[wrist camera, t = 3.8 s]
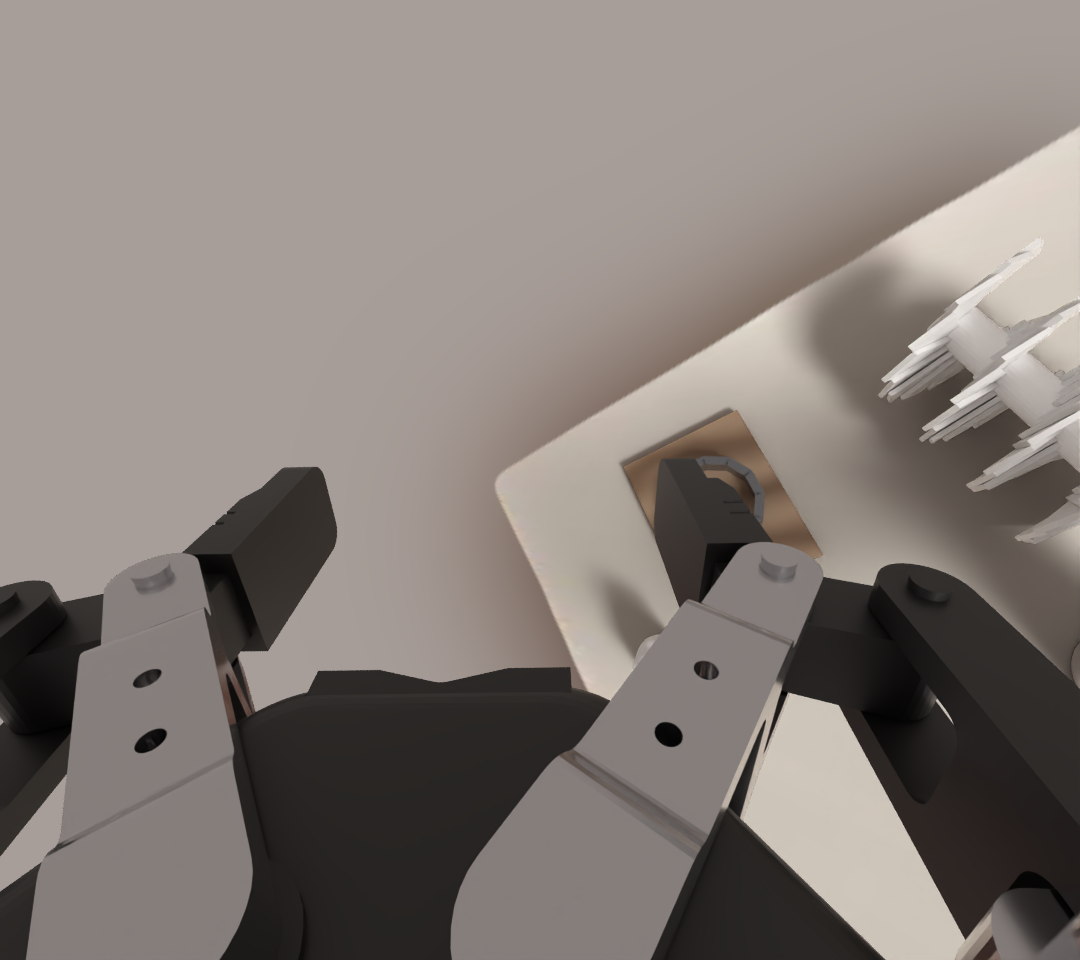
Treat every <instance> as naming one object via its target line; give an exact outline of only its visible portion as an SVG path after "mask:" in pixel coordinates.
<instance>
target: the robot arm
mask: <svg viewBox="0 0 1080 960" xmlns="http://www.w3.org/2000/svg"><path fill="white" fill-rule="evenodd" d="M654 531H655V538H656V542H657V545H658V548H659V551H660V554H661V557H662V559H663V562H664V565H665V568H666V571H667V574H668V576H669V579H670V582H671V585H672V588H673V591H674V593H675V596H676V599H677V602H678V605H679V610H678V611H677V612H676V614H675V615H674V617H673V618H672V619H671V621H670V622H669V623H668V625H667V626H666V627H665V629H664V630H663V631H662V633H661V634H660V635H659V637H658V638H657V639H656V641H655V642H654V643H653V645H652V646H651V647H650V649H649V650H648V651H647V653H646V654H645V655H644V657H643V658H642V659H641V661H640V662H639V663H638V665H637V666H636V667H635V669H634V670H633V671H632V673H631V674H630V675H629V677H628V678H627V679H626V681H625V682H624V683H623V685H622V686H621V688H620V689H619V690H618V692H617V693H616V694H615V696H614V697H613V698H612V700H611V701H610V700H608V699H605V698H603V697H601V696H599V695H596V694H593V693H590V692H587V691H584V690H580V689H576V688H572V687H571V672H570V667H567V668H565V667H562V668H561V667H560V668H507V669H503V670H498V671H493V672H489V673H484V674H480V675H476V676H471V677H467V678H463V679H458V680H453V681H449V682H440V683H439V682H432V681H427V680H423V679H418V678H414V677H409V676H405V675H400V674H395V673H391V672H386V671H381V670H360V671H359V670H356V671H318V673H317V675H316V677H315V679H314V681H313V683H312V685H311V687H310V689H309V691H308V692H307V693H303V694H299V695H296V696H292V697H290V698H286V699H284V700H281V701H279V702H276V703H274V704H271V705H269V706H267V707H265V708H263V709H261V710H259V711H257V712H255V708H254V704H253V701H252V697H251V694H250V691H249V687H248V683H247V679H246V676H245V672H244V669H243V666H242V664H241V662H240V659H239V657H238V654H239V653H240V651H268V650H269V649H270V647H271V645H272V644H273V642H274V641H275V639H276V638H277V636H278V635H279V633H280V631H281V630H282V628H283V627H284V625H285V624H286V622H287V621H288V619H289V617H290V616H291V614H292V613H293V611H294V610H295V608H296V607H297V605H298V603H299V602H300V600H301V599H302V597H303V595H304V594H305V593H306V591H307V589H308V588H309V586H310V585H311V583H312V582H313V580H314V578H315V577H316V576H317V574H318V572H319V571H320V569H321V568H322V566H323V565H324V563H325V562H326V560H327V558H328V557H329V555H330V554H331V552H332V551H333V549H334V547H335V543H336V538H337V526H336V521H335V517H334V513H333V509H332V505H331V501H330V497H329V494H328V489H327V485H326V481H325V478H324V475H323V473H322V471H321V470H320V469H319V468H318V467H292V468H283V469H281V470H280V471H279V472H278V473H277V474H276V475H275V476H274V477H273V478H272V479H271V480H269V481H268V482H267V483H266V484H265V485H264V486H263V487H262V488H261V489H259V490H257V491H255V492H253V493H252V494H250V495H248V496H246V497H244V498H242V499H240V500H239V501H238V502H237V503H236V504H235V505H234V506H233V507H232V508H231V509H230V510H229V511H227V514H224V515H223V516H222V517H221V518H220V519H219V520H217V522H216V524H215V525H212V526H211V527H210V528H209V529H208V530H207V531H205V532H204V533H203V534H202V535H201V536H200V537H199V538H198V539H197V540H196V541H194V542H193V544H191V545H190V546H189V547H188V548H187V549H186V550H185V551H183V552H182V553H175V554H174V553H173V554H166V555H161V556H158V557H154V558H151V559H147V560H144V561H142V562H140V563H137V564H135V565H133V566H131V567H129V568H127V569H126V570H124V571H122V572H121V573H119V574H118V575H116V576H115V577H114V578H113V579H112V580H111V581H110V582H109V583H108V584H107V586H106V588H105V590H104V594H101V595H96V596H91V597H86V598H82V599H76V600H72V601H66V602H61V601H60V599H59V597H58V596H57V594H56V592H55V591H54V589H53V587H52V586H51V585H50V584H49V583H47V582H45V581H24V582H19V583H14V584H10V585H6V586H3V587H0V717H1V719H2V720H3V721H4V722H3V723H2V725H0V856H1V855H2V854H3V852H4V851H5V850H6V849H7V847H8V846H9V845H10V844H11V842H12V841H13V840H14V839H15V837H16V836H17V835H18V834H19V832H20V831H21V830H22V829H23V827H24V826H25V825H26V824H27V822H28V821H29V820H30V819H31V817H32V816H33V815H34V814H35V813H36V811H37V810H38V809H39V808H40V806H41V805H42V804H43V803H44V801H45V800H46V799H47V797H48V796H49V795H50V794H51V793H52V791H53V790H54V789H55V788H56V786H57V785H58V784H59V783H60V782H61V780H62V779H63V778H64V777H65V775H66V774H67V778H66V788H65V799H64V808H63V817H62V826H61V834H60V839H59V841H58V844H57V845H56V847H55V848H54V849H53V850H51V851H50V852H48V853H47V855H46V856H45V858H44V859H43V861H42V862H41V863H40V864H38V865H37V866H36V867H34V868H33V869H32V870H30V871H29V872H27V873H26V874H24V875H23V876H22V877H21V878H19V879H17V880H16V881H15V882H13V883H12V884H10V885H9V886H8V887H6V888H5V889H3V890H2V891H1V892H0V960H885V959H884V958H883V957H882V956H881V955H880V954H879V953H878V952H877V951H876V950H875V949H874V948H873V947H872V946H871V945H870V944H869V943H868V942H867V941H866V940H865V939H864V938H863V937H862V936H861V935H860V934H858V933H857V932H856V931H855V930H854V929H853V928H852V927H851V926H850V925H849V924H848V923H847V922H846V921H845V920H844V919H843V918H842V917H841V916H840V915H839V914H838V913H837V912H836V911H835V910H834V909H833V908H832V907H831V906H830V905H829V904H828V903H827V902H826V901H825V900H824V899H823V898H822V897H820V896H819V895H818V894H817V893H816V892H815V891H814V890H813V889H812V888H811V887H810V886H809V885H808V884H807V883H806V882H805V881H804V880H803V879H802V878H801V877H800V876H799V875H798V874H797V873H796V872H795V871H794V870H793V869H792V868H791V867H790V866H789V865H788V864H787V863H786V862H785V861H784V860H783V859H781V858H780V857H779V856H778V855H777V854H776V853H775V852H774V851H773V850H772V849H771V848H770V847H769V846H768V845H767V844H766V843H765V842H764V841H763V840H762V839H761V838H760V837H759V836H758V835H757V834H756V833H755V832H754V831H753V830H752V829H751V828H750V827H749V826H748V825H747V824H746V823H745V822H743V819H744V816H745V813H746V810H747V808H748V805H749V802H750V799H751V796H752V793H753V789H754V786H755V783H756V780H757V778H758V775H759V772H760V769H761V767H762V764H763V761H764V759H765V756H766V754H767V751H768V749H769V746H770V743H771V741H772V738H773V736H774V733H775V731H776V728H777V725H778V723H779V720H780V718H781V715H782V712H783V710H784V707H785V705H786V702H787V700H788V697H789V694H790V693H792V694H796V695H801V696H805V697H809V698H813V699H817V700H821V701H825V702H829V703H833V704H837V705H839V706H840V708H841V710H842V712H843V714H844V716H845V718H846V720H847V721H848V723H849V725H850V727H851V729H852V731H853V733H854V734H855V736H856V738H857V740H858V742H859V744H860V745H861V747H862V749H863V751H864V753H865V755H866V757H867V758H868V760H869V762H870V764H871V766H872V768H873V770H874V771H875V773H876V775H877V777H878V779H879V781H880V783H881V784H882V786H883V788H884V790H885V792H886V794H887V795H888V797H889V799H890V801H891V803H892V805H893V807H894V808H895V810H896V812H897V814H898V816H899V818H900V820H901V821H902V823H903V825H904V827H905V829H906V831H907V833H908V834H909V836H910V838H911V840H912V842H913V844H914V846H915V847H916V849H917V851H918V853H919V855H920V857H921V858H922V860H923V862H924V864H925V866H926V868H927V870H928V871H929V873H930V875H931V877H932V879H933V881H934V883H935V884H936V886H937V888H938V890H939V892H940V894H941V896H942V897H943V899H944V901H945V903H946V905H947V907H948V908H949V910H950V912H951V914H952V916H953V918H954V920H955V921H956V923H957V925H958V927H959V929H960V931H961V933H962V934H963V936H964V938H965V942H964V943H963V944H962V946H961V947H960V948H959V949H958V952H957V954H956V957H955V960H1080V642H1079V643H1078V645H1077V646H1076V647H1075V650H1074V652H1073V655H1072V660H1071V670H1072V675H1073V679H1074V681H1075V683H1076V685H1075V684H1074V683H1073V682H1072V681H1071V680H1070V679H1069V678H1068V677H1067V676H1066V675H1064V674H1063V673H1062V672H1061V671H1060V670H1059V669H1058V668H1057V667H1056V666H1055V665H1054V664H1053V663H1052V662H1050V661H1049V660H1048V659H1047V658H1046V657H1045V656H1044V655H1043V654H1042V653H1041V652H1040V651H1039V650H1038V649H1037V648H1035V647H1034V646H1033V645H1032V644H1031V643H1030V642H1029V641H1028V640H1027V639H1026V638H1025V637H1024V636H1023V635H1021V634H1020V633H1019V632H1018V631H1017V630H1016V629H1015V628H1014V627H1013V626H1012V625H1011V624H1010V623H1009V622H1007V621H1006V620H1005V619H1004V618H1003V617H1002V616H1001V615H1000V614H999V613H998V612H997V611H996V610H995V609H994V608H992V607H991V606H990V605H989V604H988V603H987V602H986V601H985V600H984V599H983V598H982V597H981V596H980V595H978V594H977V593H976V592H975V591H974V590H973V589H972V588H970V587H969V586H968V585H966V584H965V583H963V582H962V581H960V580H958V579H957V578H955V577H953V576H951V575H948V574H946V573H944V572H941V571H938V570H936V569H932V568H929V567H925V566H921V565H915V564H904V563H901V564H891V565H887V566H885V567H883V568H881V569H880V570H879V572H878V574H877V577H876V580H875V583H874V586H870V585H864V584H859V583H853V582H847V581H842V580H836V579H831V578H826V577H823V571H822V569H821V567H820V565H819V564H818V563H817V562H816V561H815V560H814V559H813V558H812V557H810V556H809V555H807V554H806V553H804V552H802V551H800V550H798V549H796V548H793V547H790V546H787V545H783V544H778V543H773V541H772V540H771V538H770V537H769V536H768V534H767V533H766V531H765V530H764V529H763V527H762V526H761V524H760V523H759V522H758V520H757V519H756V518H755V516H754V515H753V513H751V511H750V509H749V508H748V506H747V505H746V504H745V503H743V499H742V498H741V497H740V495H739V494H738V492H737V491H736V490H735V488H733V487H732V486H730V485H729V484H727V483H725V482H724V481H722V480H721V479H719V478H707V477H706V475H705V473H704V472H703V470H702V469H701V467H700V466H699V464H698V463H697V461H696V460H695V458H667V459H661V461H660V464H659V470H658V480H657V491H656V502H655V513H654ZM936 699H938V700H939V701H940V703H941V704H942V705H943V707H944V708H945V709H946V711H947V712H948V714H949V715H950V717H951V719H952V721H953V723H952V722H951V721H950V719H949V718H948V717H947V715H946V714H945V713H944V711H943V710H942V709H941V707H940V706H939V705H938V703H937V702H936ZM953 724H954V725H953Z"/></svg>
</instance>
